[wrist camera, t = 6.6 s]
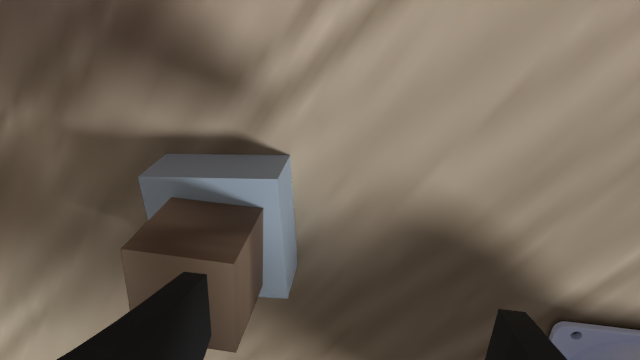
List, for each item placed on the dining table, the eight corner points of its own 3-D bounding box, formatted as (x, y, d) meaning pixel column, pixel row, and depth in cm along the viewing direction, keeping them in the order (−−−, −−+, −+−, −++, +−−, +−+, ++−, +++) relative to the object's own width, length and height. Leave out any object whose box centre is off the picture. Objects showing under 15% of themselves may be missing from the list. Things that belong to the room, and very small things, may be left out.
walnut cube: (263, 208, 18) (233, 264, 15) (262, 285, 20) (235, 352, 17) (171, 196, 19) (120, 249, 15) (178, 273, 21) (134, 337, 17)
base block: (291, 152, 21) (277, 179, 18) (298, 260, 23) (287, 298, 20) (168, 151, 21) (137, 176, 19) (188, 256, 24) (164, 292, 21)
